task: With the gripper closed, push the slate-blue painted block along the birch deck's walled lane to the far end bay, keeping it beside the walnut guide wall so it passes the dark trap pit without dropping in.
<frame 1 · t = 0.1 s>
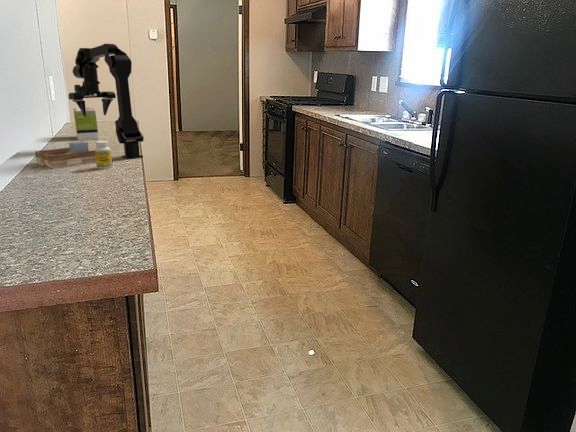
hand: (94, 115, 207), 15 cm above the table, tool pointing down, fingers open, 9 cm apart
block: (79, 155, 182), point 2 cm above the table, touching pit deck
supplement bottle: (104, 168, 174), on the table
tea box: (87, 138, 242), on the table
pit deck: (71, 162, 183), on the table
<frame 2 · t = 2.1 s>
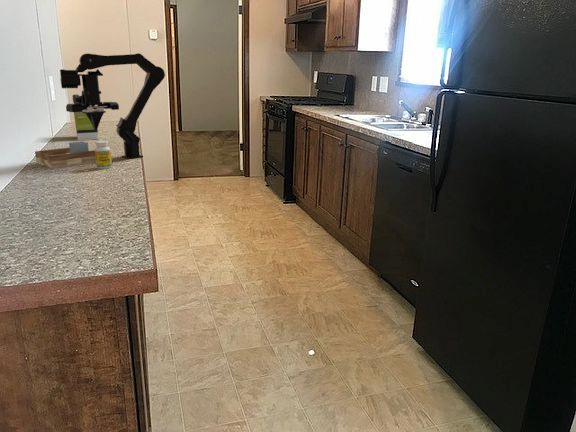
hand: (95, 129, 184), 12 cm above the table, tool pointing down, fingers closed
nothing on the table moved.
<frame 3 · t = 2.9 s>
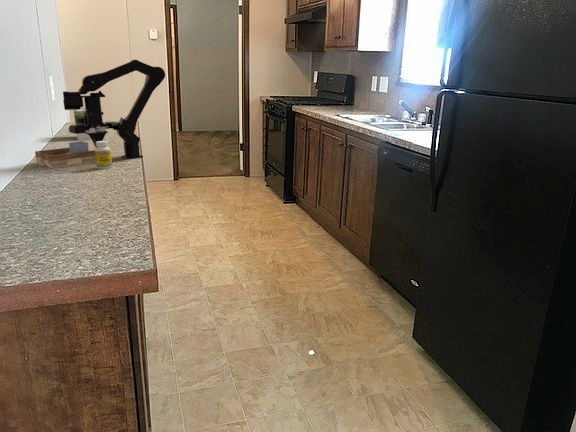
hand: (98, 149, 187), 4 cm above the table, tool pointing down, fingers closed
nothing on the table moved.
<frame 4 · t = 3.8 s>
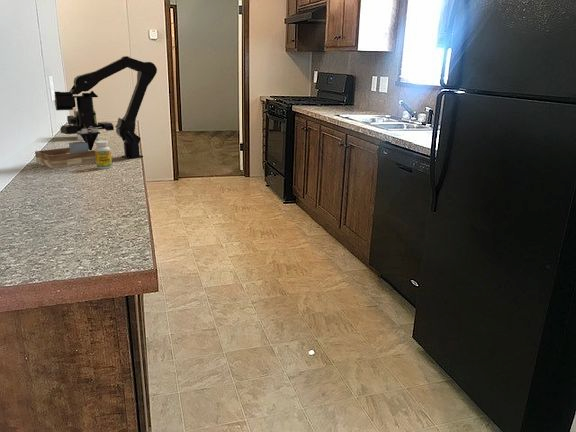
hand: (90, 150, 185), 4 cm above the table, tool pointing down, fingers closed
block: (79, 155, 182), point 3 cm above the table, touching gripper, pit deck
everything else where it was.
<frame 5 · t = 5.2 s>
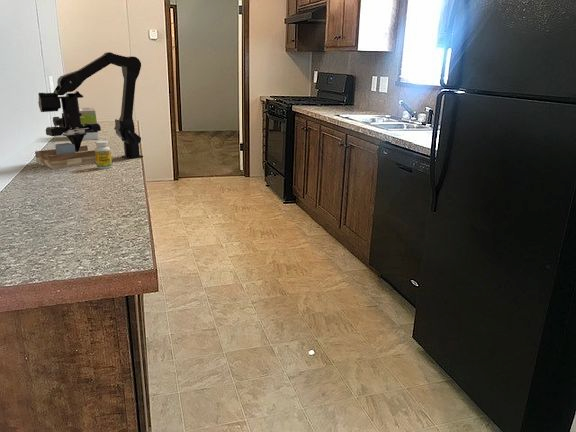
hand: (77, 151, 181), 4 cm above the table, tool pointing down, fingers closed
block: (66, 157, 178), point 3 cm above the table, touching gripper, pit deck
everything else where it was.
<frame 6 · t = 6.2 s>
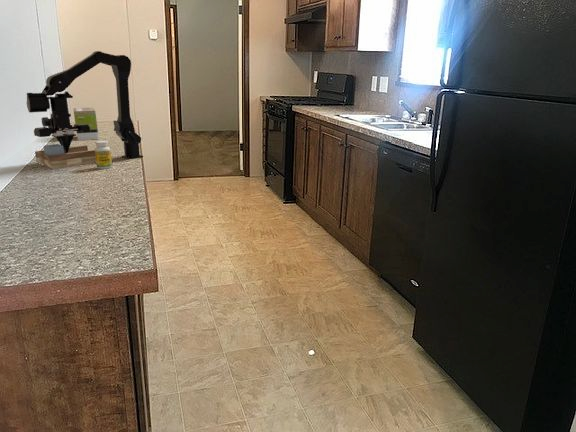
hand: (66, 153, 178), 4 cm above the table, tool pointing down, fingers closed
block: (55, 159, 175), point 2 cm above the table, touching gripper, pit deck
everything else where it was.
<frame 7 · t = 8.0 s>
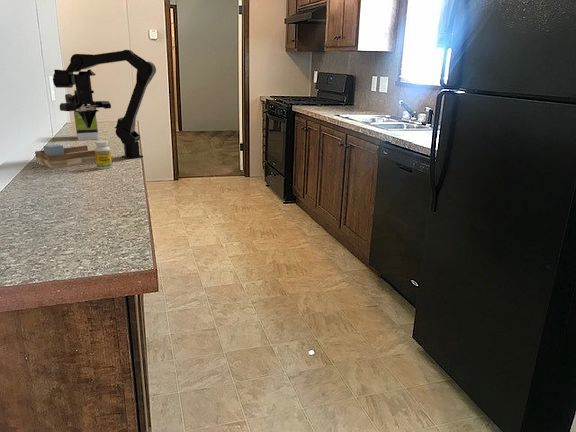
hand: (88, 127, 189), 12 cm above the table, tool pointing down, fingers closed
block: (55, 159, 175), point 2 cm above the table, touching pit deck
everything else where it was.
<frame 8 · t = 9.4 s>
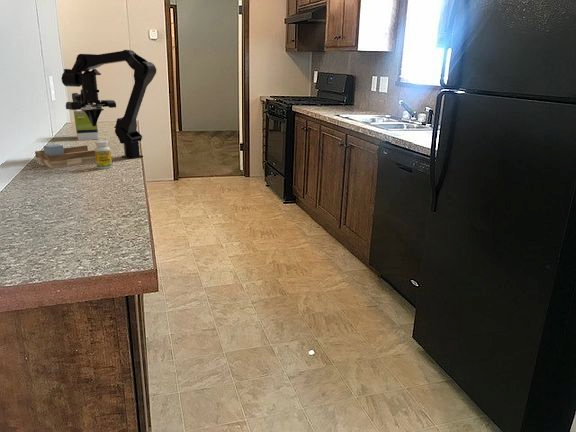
hand: (93, 126, 193), 12 cm above the table, tool pointing down, fingers closed
nothing on the table moved.
at the end: block 0.5 cm from the target spot, point 2.5 cm above the table; block tilted 0° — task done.
